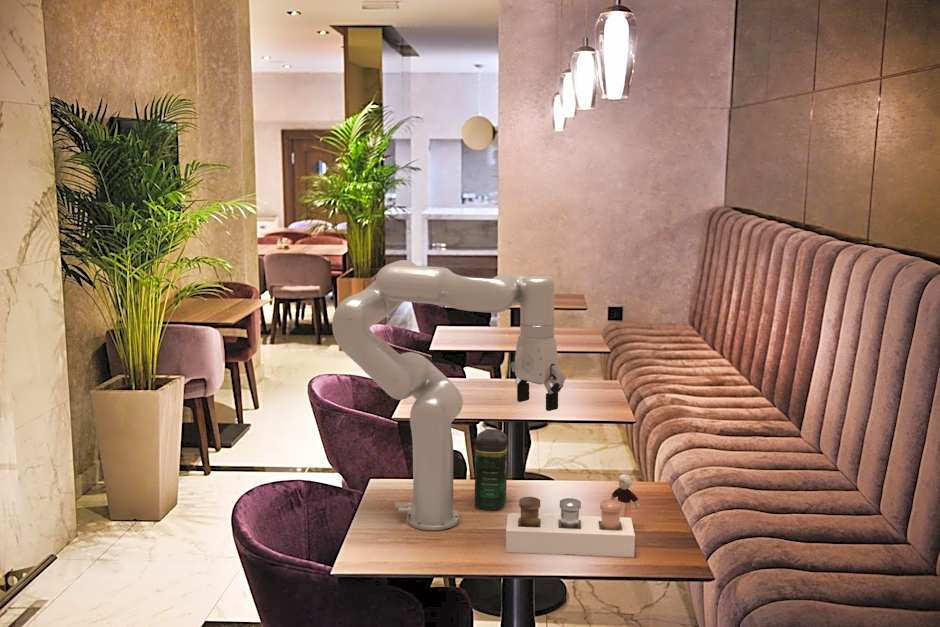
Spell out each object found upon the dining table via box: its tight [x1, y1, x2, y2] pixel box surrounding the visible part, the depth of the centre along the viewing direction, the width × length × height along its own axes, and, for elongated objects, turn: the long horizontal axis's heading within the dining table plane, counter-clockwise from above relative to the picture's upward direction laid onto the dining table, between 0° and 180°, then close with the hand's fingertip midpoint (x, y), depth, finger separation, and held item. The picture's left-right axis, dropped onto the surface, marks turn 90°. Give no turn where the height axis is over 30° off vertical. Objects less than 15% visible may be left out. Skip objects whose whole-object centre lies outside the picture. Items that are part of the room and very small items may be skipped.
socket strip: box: [505, 512, 636, 558], centre depth 216 cm, size 28×10×5 cm, turn 85°
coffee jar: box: [474, 428, 508, 511], centre depth 239 cm, size 10×8×19 cm
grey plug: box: [559, 497, 582, 529], centre depth 215 cm, size 5×5×6 cm
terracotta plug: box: [599, 499, 622, 530], centre depth 214 cm, size 5×5×6 cm
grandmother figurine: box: [609, 473, 641, 518], centre depth 226 cm, size 8×4×13 cm, turn 62°
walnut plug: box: [518, 496, 541, 527], centre depth 216 cm, size 5×5×6 cm
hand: (537, 405), depth 218 cm, fingers open, 9 cm apart
